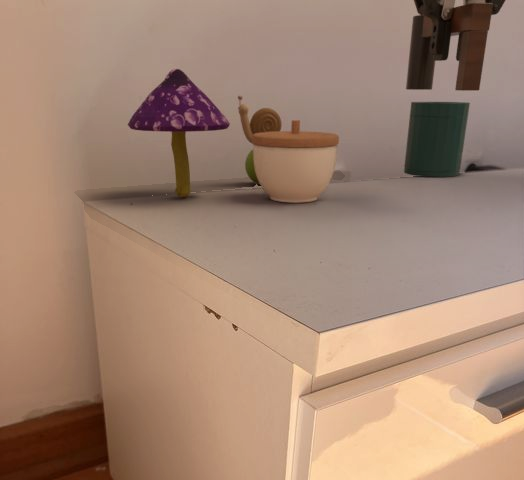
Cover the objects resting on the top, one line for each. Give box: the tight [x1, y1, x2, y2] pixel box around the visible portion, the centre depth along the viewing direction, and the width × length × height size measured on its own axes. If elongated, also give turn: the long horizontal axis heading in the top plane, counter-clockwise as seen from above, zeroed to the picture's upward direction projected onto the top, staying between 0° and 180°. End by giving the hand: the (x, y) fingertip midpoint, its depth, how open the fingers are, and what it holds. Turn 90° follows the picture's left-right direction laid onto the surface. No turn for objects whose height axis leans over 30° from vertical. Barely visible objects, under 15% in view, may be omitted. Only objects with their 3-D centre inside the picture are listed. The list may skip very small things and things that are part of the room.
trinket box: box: [251, 119, 340, 204], centre depth 72 cm, size 11×11×9 cm
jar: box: [403, 101, 471, 178], centre depth 94 cm, size 9×9×11 cm
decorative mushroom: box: [127, 68, 231, 199], centre depth 70 cm, size 12×12×15 cm
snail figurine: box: [237, 94, 283, 185], centre depth 81 cm, size 5×6×12 cm
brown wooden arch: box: [405, 3, 493, 92], centre depth 65 cm, size 14×3×8 cm, turn 11°
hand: (452, 59), depth 64 cm, fingers closed on brown wooden arch, 2 cm apart
